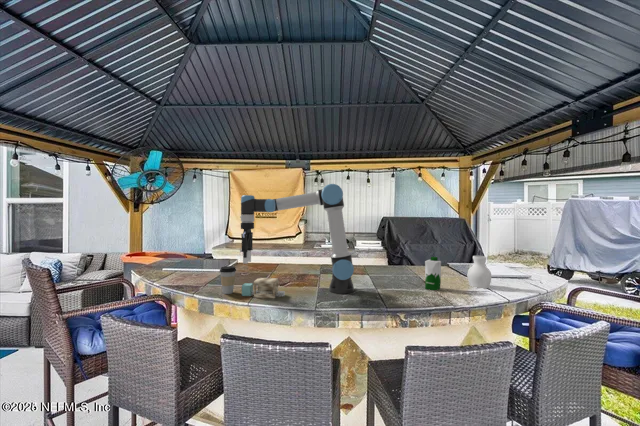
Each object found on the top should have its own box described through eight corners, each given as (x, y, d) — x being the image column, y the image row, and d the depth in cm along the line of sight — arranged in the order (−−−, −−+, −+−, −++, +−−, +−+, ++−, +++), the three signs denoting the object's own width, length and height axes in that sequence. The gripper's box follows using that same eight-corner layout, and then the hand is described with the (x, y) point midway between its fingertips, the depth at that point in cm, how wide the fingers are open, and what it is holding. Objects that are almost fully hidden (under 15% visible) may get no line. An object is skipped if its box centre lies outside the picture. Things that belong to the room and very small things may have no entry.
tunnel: (278, 293, 172) (278, 278, 172) (274, 298, 163) (274, 282, 163) (258, 293, 173) (258, 277, 173) (253, 297, 164) (253, 281, 164)
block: (253, 293, 172) (253, 283, 172) (250, 296, 167) (250, 285, 167) (244, 293, 172) (244, 283, 172) (241, 295, 167) (241, 285, 167)
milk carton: (442, 288, 187) (442, 257, 187) (437, 291, 180) (437, 259, 180) (428, 286, 193) (428, 256, 193) (423, 288, 186) (423, 257, 186)
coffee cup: (231, 295, 167) (231, 269, 167) (216, 294, 169) (216, 268, 169) (238, 291, 177) (239, 266, 177) (224, 290, 178) (224, 265, 178)
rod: (284, 295, 169) (284, 291, 169) (283, 297, 166) (283, 292, 166) (252, 294, 171) (252, 290, 171) (251, 296, 168) (251, 291, 168)
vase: (488, 284, 199) (489, 255, 199) (494, 290, 185) (494, 258, 185) (465, 283, 203) (465, 254, 203) (469, 288, 190) (469, 257, 189)
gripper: (246, 221, 178) (245, 259, 178) (235, 222, 160) (235, 265, 160) (258, 221, 177) (257, 260, 177) (248, 222, 160) (248, 265, 160)
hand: (247, 262), depth 169 cm, fingers open, 5 cm apart
